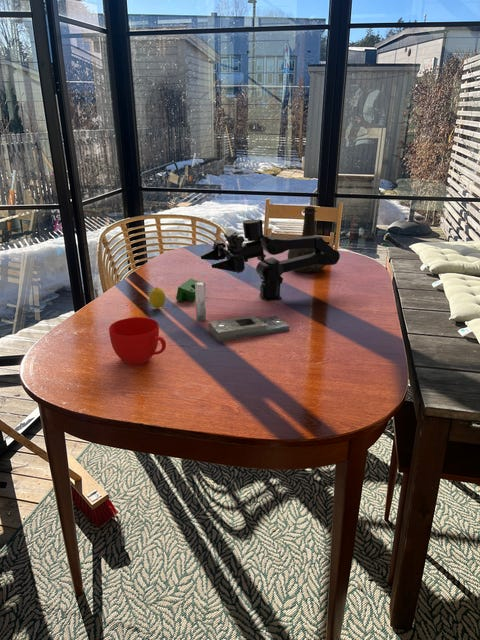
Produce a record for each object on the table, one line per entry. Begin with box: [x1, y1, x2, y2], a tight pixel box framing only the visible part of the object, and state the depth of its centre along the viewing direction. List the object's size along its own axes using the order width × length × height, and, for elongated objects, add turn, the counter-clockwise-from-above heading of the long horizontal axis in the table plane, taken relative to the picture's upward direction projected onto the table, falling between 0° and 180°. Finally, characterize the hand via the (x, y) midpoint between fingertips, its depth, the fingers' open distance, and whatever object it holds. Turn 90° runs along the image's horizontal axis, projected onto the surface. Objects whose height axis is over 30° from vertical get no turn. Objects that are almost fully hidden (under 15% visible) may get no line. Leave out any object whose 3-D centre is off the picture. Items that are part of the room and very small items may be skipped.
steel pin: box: [195, 281, 207, 323], centre depth 153 cm, size 3×3×12 cm
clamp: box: [175, 278, 200, 302], centre depth 175 cm, size 12×6×9 cm, turn 156°
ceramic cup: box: [108, 316, 167, 366], centre depth 126 cm, size 13×17×10 cm
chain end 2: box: [235, 315, 290, 340], centre depth 148 cm, size 18×9×2 cm, turn 112°
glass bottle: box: [287, 205, 327, 274], centre depth 206 cm, size 18×18×28 cm
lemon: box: [148, 286, 166, 310], centre depth 163 cm, size 6×6×8 cm
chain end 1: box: [208, 314, 266, 343], centre depth 146 cm, size 16×9×3 cm, turn 112°
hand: (206, 261), depth 161 cm, fingers open, 9 cm apart
